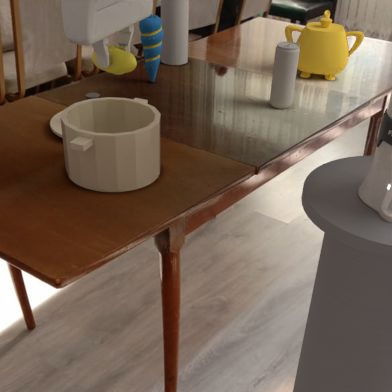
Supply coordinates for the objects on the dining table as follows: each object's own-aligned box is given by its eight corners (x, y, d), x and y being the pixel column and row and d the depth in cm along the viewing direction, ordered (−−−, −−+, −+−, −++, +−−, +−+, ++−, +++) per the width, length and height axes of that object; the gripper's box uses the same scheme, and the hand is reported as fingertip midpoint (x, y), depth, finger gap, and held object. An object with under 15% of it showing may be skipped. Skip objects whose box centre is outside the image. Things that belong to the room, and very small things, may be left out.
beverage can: (265, 106, 132) (272, 45, 124) (273, 99, 135) (280, 39, 127) (287, 111, 130) (295, 49, 122) (295, 103, 133) (303, 43, 125)
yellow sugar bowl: (361, 76, 148) (372, 21, 140) (318, 87, 142) (327, 30, 134) (319, 59, 156) (328, 7, 149) (277, 69, 150) (283, 14, 142)
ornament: (155, 87, 137) (154, 12, 128) (135, 83, 139) (133, 8, 129) (167, 81, 141) (168, 7, 131) (148, 76, 143) (147, 3, 133)
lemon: (103, 63, 101) (102, 37, 98) (143, 75, 98) (142, 48, 95) (86, 70, 98) (84, 43, 95) (126, 82, 95) (125, 55, 92)
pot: (181, 156, 112) (183, 102, 106) (125, 208, 97) (122, 150, 91) (104, 138, 117) (101, 86, 110) (39, 185, 102) (31, 129, 96)
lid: (154, 121, 124) (153, 89, 119) (111, 153, 112) (110, 119, 108) (80, 105, 128) (78, 74, 124) (32, 134, 117) (28, 101, 112)
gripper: (125, -57, 96) (128, 41, 105) (49, -34, 81) (60, 76, 91) (162, -52, 94) (162, 47, 103) (91, -27, 80) (98, 84, 89)
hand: (114, 61), depth 97 cm, fingers closed on lemon, 4 cm apart
